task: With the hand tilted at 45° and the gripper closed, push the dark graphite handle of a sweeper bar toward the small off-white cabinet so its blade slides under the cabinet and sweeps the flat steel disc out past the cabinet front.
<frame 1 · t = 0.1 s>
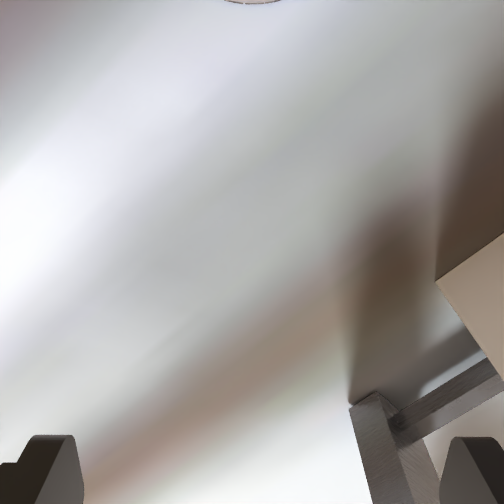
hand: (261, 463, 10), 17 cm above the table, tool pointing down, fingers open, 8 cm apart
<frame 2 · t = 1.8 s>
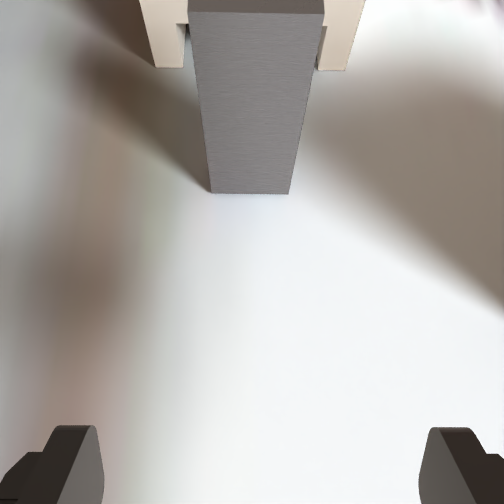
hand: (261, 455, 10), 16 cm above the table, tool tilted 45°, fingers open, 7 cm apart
sweeper: (252, 17, 26), point 7 cm above the table, slide at 0.0 cm
cabinet: (250, 17, 35), on the table
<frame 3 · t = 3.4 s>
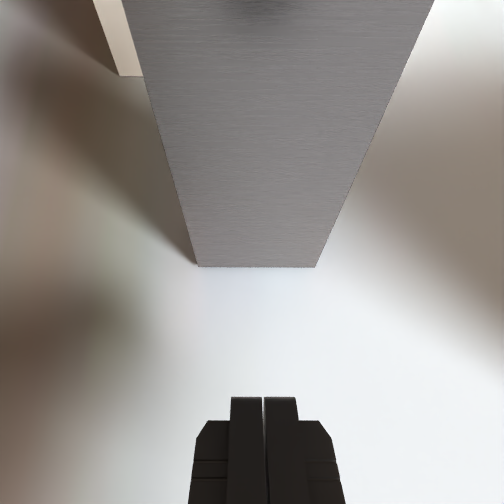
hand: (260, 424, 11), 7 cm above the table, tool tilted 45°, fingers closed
cabinet: (255, 6, 25), on the table
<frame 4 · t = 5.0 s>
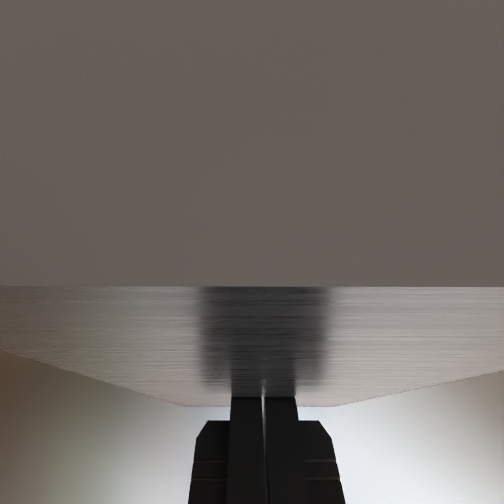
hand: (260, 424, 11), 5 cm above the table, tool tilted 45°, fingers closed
sweeper: (265, 77, 11), point 7 cm above the table, slide at 0.6 cm, touching gripper
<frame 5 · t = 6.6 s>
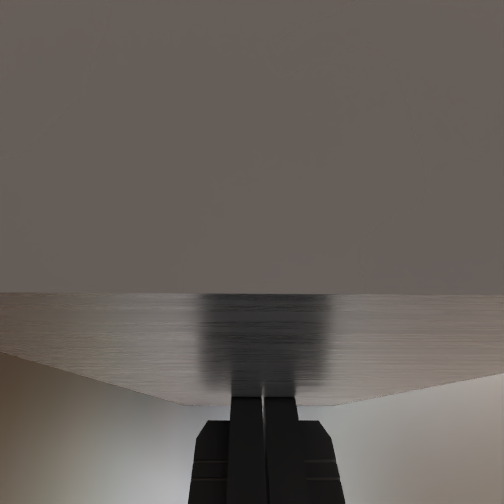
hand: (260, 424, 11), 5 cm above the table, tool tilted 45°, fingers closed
sweeper: (266, 76, 11), point 7 cm above the table, slide at 8.0 cm, touching cabinet, gripper
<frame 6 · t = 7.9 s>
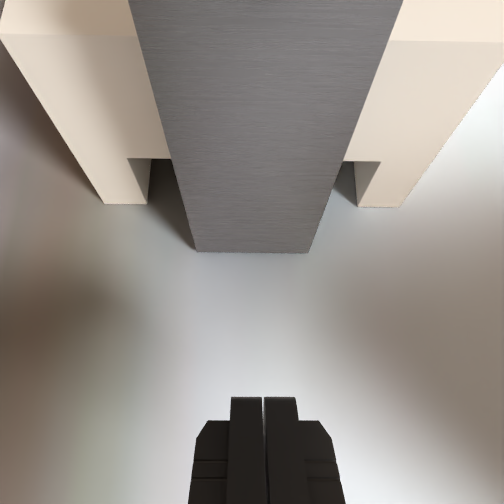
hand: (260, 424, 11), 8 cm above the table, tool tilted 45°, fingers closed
cabinet: (253, 118, 23), on the table
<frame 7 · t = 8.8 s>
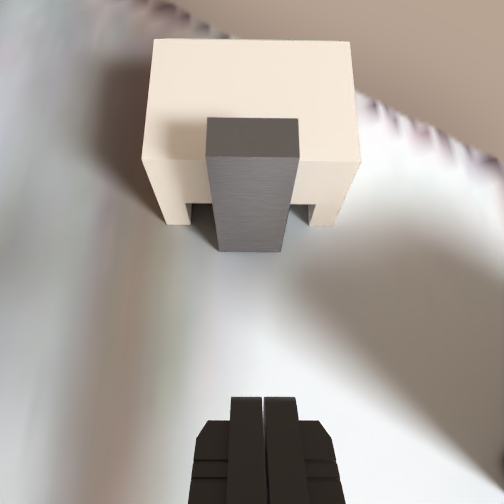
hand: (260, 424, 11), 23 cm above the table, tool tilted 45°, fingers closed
sweeper: (251, 121, 33), point 7 cm above the table, slide at 8.0 cm, touching cabinet
cabinet: (250, 173, 40), on the table
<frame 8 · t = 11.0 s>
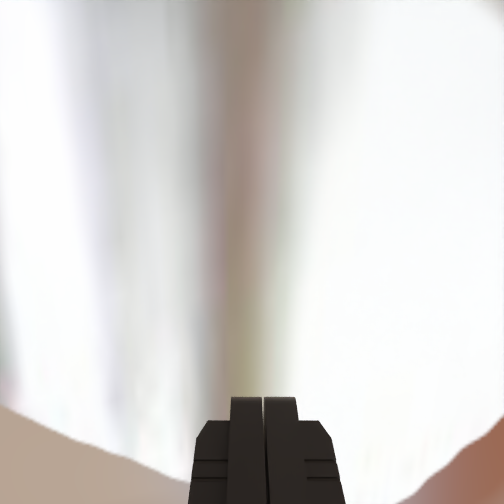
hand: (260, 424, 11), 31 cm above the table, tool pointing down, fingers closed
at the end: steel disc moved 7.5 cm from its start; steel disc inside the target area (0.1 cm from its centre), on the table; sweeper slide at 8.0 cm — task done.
